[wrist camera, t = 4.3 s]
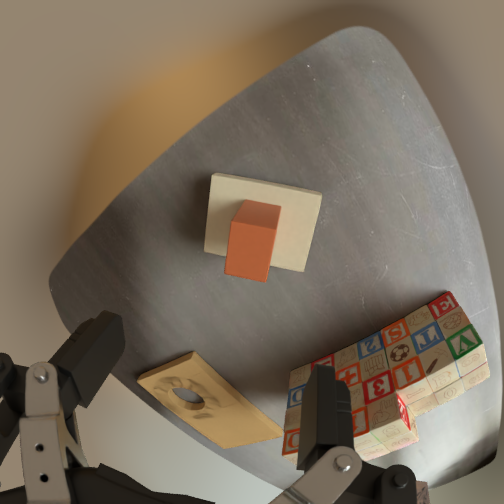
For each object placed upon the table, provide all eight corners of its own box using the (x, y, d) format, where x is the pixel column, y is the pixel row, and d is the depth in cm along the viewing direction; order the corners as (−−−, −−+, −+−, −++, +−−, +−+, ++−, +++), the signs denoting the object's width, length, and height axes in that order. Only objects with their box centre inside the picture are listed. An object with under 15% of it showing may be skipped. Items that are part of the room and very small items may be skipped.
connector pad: (211, 240, 29) (182, 282, 22) (219, 169, 26) (188, 190, 19) (303, 259, 29) (303, 308, 21) (320, 188, 26) (328, 217, 18)
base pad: (139, 374, 40) (136, 381, 39) (194, 350, 36) (191, 358, 35) (225, 442, 45) (223, 449, 44) (283, 429, 41) (282, 436, 40)
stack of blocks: (449, 287, 27) (498, 365, 16) (461, 323, 29) (501, 398, 18) (288, 371, 35) (279, 457, 24) (314, 396, 37) (311, 476, 26)
